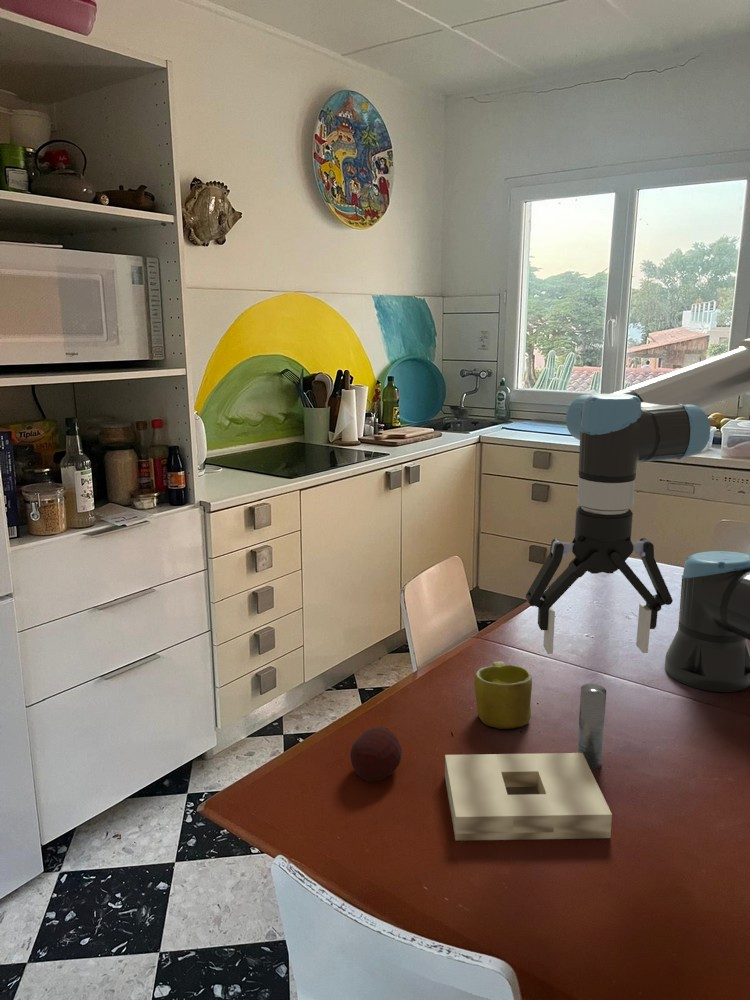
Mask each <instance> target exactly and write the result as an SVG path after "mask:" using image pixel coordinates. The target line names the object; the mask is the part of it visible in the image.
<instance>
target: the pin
mask: <svg viewBox="0 0 750 1000" xmlns="http://www.w3.org/2000/svg"><path fill="white" fill-rule="evenodd" d="M579 696H580V700H579V713H578V715H579V716H578V717H579V718H578V729H577V730H578V733H577V746H576V747H577V748H576V749H577V751H576V753H583V755H584V757H585V759H586V761H587V763H588V765H589V768H590V770H597V769H599V768H601V766H602V759H603V745H604V734H605V732H604V731H605V719H606V718H605V717H606V716H605V715H606V701H607V689H606V688H605V687H604V686H602V685H601V684H600V685H599V684H596V683H586V684H583V685H582V686H581V687H580V694H579Z"/></svg>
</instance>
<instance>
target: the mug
mask: <svg viewBox="0 0 750 1000" xmlns="http://www.w3.org/2000/svg"><path fill="white" fill-rule="evenodd" d="M474 675H475V676H474V683H473V684H474V692H475V700H476V702H475V703H476V710H477V715H478V717H479V719H480V721H481V722H482V723H483V725H485V726H488V727H489V728H494V729H499V730H511V729H515V728H521V727H523V726H526V725H528V724H529V722H530V720H531V715H532V714H531V713H532V711H531V701H532V692H533V691H532V689H533V677H532V674H531V673H530V671H528V670H527V669H526V668H525V667H522V666H519V665H512V664H505V662H504V661H502V660H501V661H500V660H499V661H493V663H492V665H490V666H485V667H481V668H479V669H478V670H477V671H476V673H475V674H474Z"/></svg>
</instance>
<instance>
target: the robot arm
mask: <svg viewBox="0 0 750 1000" xmlns="http://www.w3.org/2000/svg"><path fill="white" fill-rule="evenodd" d="M742 395H747V396H750V337H748V338H745V339H742V340H740V341H738V342H736V343H735V344H734V345H733V346H732V347H730V350H729V351H727V352H724V353H722V354H719V355H715V356H713V357H710V358H707V359H704V360H702V361H699V362H695V363H693V364H691V365H687V366H684V367H682V368H679V369H676V370H674V371H671V372H668V373H666V374H665V373H664V374H663V375H659V376H657V377H655V378H651V379H648V380H645V381H643V382H640V383H637V384H635V385H632V386H629V387H625V388H623V389H620V390H616V391H614V392H610V393H591V394H588V393H587V394H581V395H579V396H577V397H576V398H575V399H574V400H572V402H571V403H570V404H569V406H568V408H567V411H566V416H565V421H566V423H565V424H566V427H567V431H568V432H569V434H570V435H571V437H573V438H575V439H577V440H579V457H578V479H577V495H576V503H577V504H578V505H579V506H578V507H577V508H576V510H575V523H574V524H575V525H574V538H573V540H572V541H571V542H566V541H560V540H559V539H558V538H554V539H552V540H551V543H550V548H549V554H548V555H547V557H546V559H545V561H544V562H543V564H542V566H541V568H540V570H539V571H538V573H537V575H536V576H535V578H534V580H533V582H532V584H531V586H530V587H529V589H528V591H527V592H526V594H525V598H526V601H527V602H528V604H529V606H530V607H536V608H538V609H537V610H538V611H537V625H538V627H539V629H540V631H543V648H544V650H545V652H546V654H547V655H553V654H554V639H555V637H554V636H555V619H556V610H555V609H554V607H553V605H554V604H556V603H557V601H558V600H559V599H560V598H561V597H562V596H563V595H565V593H566V592H567V591H568V590H569V589H570V588H571V587H572V586H573V584H574V583H575V582H576V581H577V580H578V579H579V578H582V577H584V575H585V574H586V573H587V572H588V573H590V574H591V575H593V574H595V575H596V574H599V573H600V574H601V573H605V574H614V572H616V571H620V572H621V574H622V575H623V576H624V577H625V579H626V580H627V581H628V582H629V583H630V584H631V586H632V587H633V588H634V589H635V590H636V592H637V593H638V594H639V595H640V596H641V598H642V599H643V600H644V601H645V603H642V602H641V603H639V604H638V605H639V606H638V607H639V608H638V619H637V631H636V641H635V646H636V647H637V648H638V649H639V650H640V652H641V653H642V654H648V653H649V643H650V642H649V641H650V634H651V633H650V631H651V630H656V628H657V623H658V612H661V610H662V606H664V605H667V606H670V605H671V604H673V602H674V600H673V597H672V595H671V593H670V591H669V589H668V586H667V584H666V581H665V579H664V577H663V575H662V572H661V571H660V568H659V566H658V564H657V562H656V559H655V548H654V547H655V546H654V544H653V543H652V542H651V541H650V540H648V539H647V538H646V537H642V538H640V539H639V540H637V541H636V540H635V541H632V540H631V538H632V528H633V527H632V526H633V514H634V512H633V511H632V510H631V508H633V507H634V503H635V488H636V485H635V483H636V477H637V466H638V463H644V462H653V461H656V462H657V461H663V460H674V459H676V460H681V459H684V458H688V457H692V456H697V455H698V454H700V453H701V452H702V451H703V450H705V449H706V447H707V445H708V444H709V441H710V439H711V438H710V437H711V436H710V435H711V423H710V419H709V417H708V415H707V414H706V412H705V411H704V410H705V409H707V408H710V407H712V406H716V405H719V404H721V403H723V402H726V401H729V400H732V399H735V398H737V397H740V396H742ZM571 552H572V554H573V556H574V558H573V559H572V560H571V561H570V562H569V563H568V566H567V567H566V569H565V570H564V571H562V573H561V574H559V576H557V578H555V580H554V581H553V582H552V583H551V584H550V582H551V581H552V579H553V577H554V576H555V573H556V572H557V571H558V568H559V567H560V565H561V562H562V560H563V559H565V557H567V556H568V554H569V553H571ZM633 552H635V554H636V555H637V556H639V557H640V559H641V560H642V561H641V562H642V563H643V566H644V568H645V571H646V572H647V574H648V578H649V579H650V581H651V584H652V586H653V589H654V591H655V593H656V594H652V593H651V591H650V590H649V589H648V588H647V587H646V586H645V584H644V583H643V581H641V579H640V578H639V577H638V576H637V575H636V573H635V572H634V571H633V570H632V568H631V567H630V566H629V565H628V563H627V562H626V561H627V560H628V558H630V556H631V555H632V554H633ZM549 584H550V585H549ZM677 627H678V628H677V631H676V633H675V634H674V637H673V639H672V640H671V643H670V645H669V647H668V649H667V651H666V654H665V659H664V669H665V671H666V673H667V674H668V675H669V676H670V677H671V678H673V679H674V680H675V681H678V682H680V683H682V684H684V685H686V686H690V687H692V688H694V689H697V690H699V689H700V690H702V691H703V690H704V691H708V692H709V691H710V692H716V693H717V692H718V693H731V692H738V691H739V692H740V691H743V690H745V689H747V688H749V687H750V647H749V644H748V641H750V554H747V553H743V552H737V551H729V550H728V551H726V550H722V551H721V550H718V551H717V550H716V551H715V550H713V551H702V552H701V551H700V552H696V553H693V554H691V555H689V556H688V557H687V558H686V559H685V562H684V566H683V572H682V575H681V588H680V599H679V616H678V626H677Z"/></svg>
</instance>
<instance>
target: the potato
mask: <svg viewBox="0 0 750 1000" xmlns="http://www.w3.org/2000/svg"><path fill="white" fill-rule="evenodd" d="M401 759H402V747H401V743H400V741H399V739H398V736H397V735H396V734H395V733H394V732H393V731H391V730H390V729H389V728H386V727H383V726H375V727H371V728H369V729H367V730H365V731H364V732H363V733H362V734H361V735H360V736H359V737H357V738H355V740H354V742H353V743H352V746H351V749H350V762H351V765H352V768H353V770H354V772H355V773H356V775H357V776H358V777H360V778H361V779H363V780H364V781H367V782H374V781H375V782H376V781H381V780H384V779H386V778H388V777H390V776H391V775H392V774H394V772H395V771H396V769H397V768H398V767H399V765H400V763H401Z"/></svg>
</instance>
